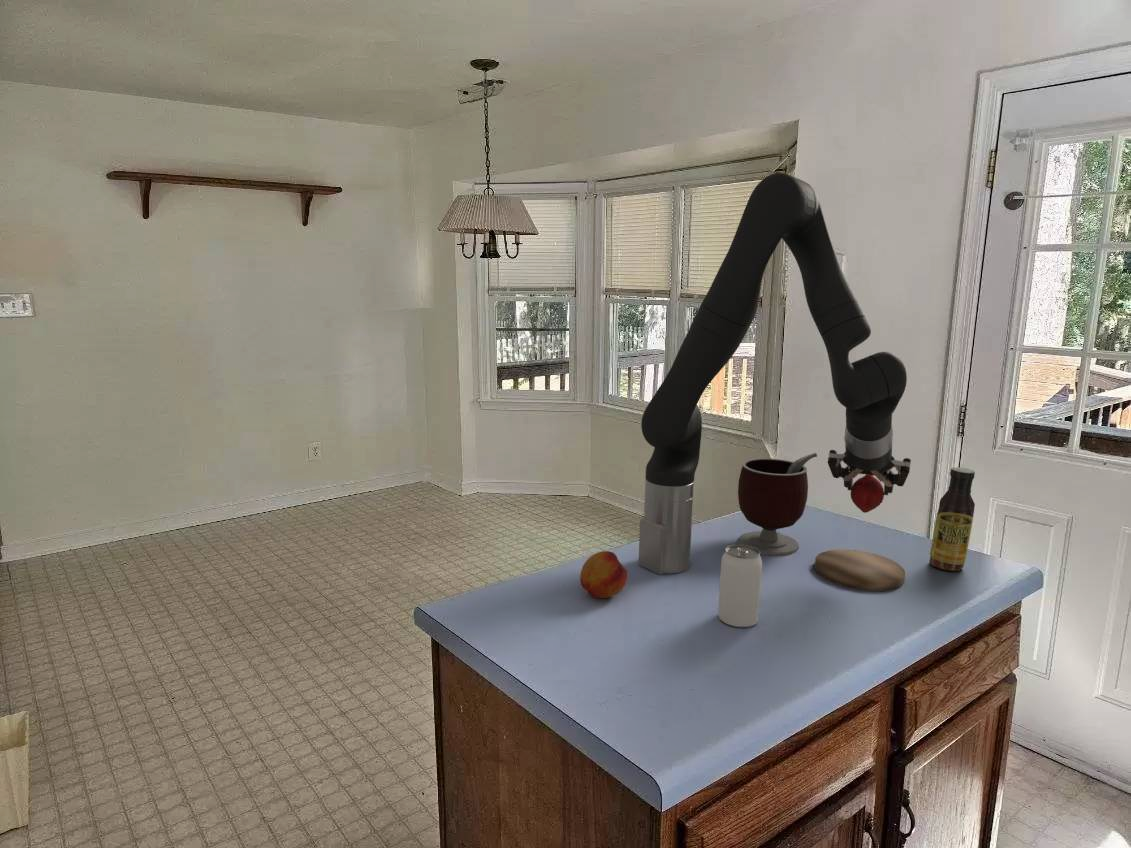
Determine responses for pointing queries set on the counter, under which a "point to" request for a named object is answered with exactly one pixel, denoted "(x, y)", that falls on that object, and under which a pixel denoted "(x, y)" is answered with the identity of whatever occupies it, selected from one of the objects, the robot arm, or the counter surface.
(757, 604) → the can
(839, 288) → the robot arm
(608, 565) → the fruit
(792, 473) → the mate gourd
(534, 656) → the counter surface
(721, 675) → the counter surface
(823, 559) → the walnut board
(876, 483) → the onion
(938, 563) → the sauce bottle
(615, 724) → the counter surface
